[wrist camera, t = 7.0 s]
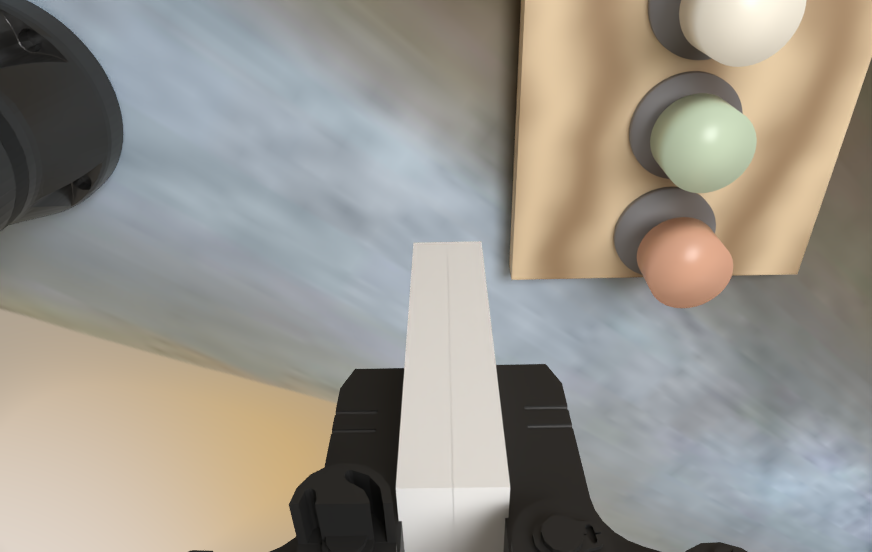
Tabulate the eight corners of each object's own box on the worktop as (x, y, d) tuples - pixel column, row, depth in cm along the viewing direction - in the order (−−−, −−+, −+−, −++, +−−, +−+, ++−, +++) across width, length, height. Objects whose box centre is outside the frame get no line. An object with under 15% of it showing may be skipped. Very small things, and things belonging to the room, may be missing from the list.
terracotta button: (631, 284, 44) (643, 308, 42) (643, 218, 41) (656, 239, 39) (706, 283, 44) (723, 307, 42) (723, 216, 41) (742, 237, 39)
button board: (509, 266, 49) (512, 283, 47) (524, -77, 36) (530, -75, 34) (784, 260, 49) (801, 278, 47) (898, -89, 36) (928, -87, 34)
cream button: (671, 55, 36) (688, 68, 33) (689, -50, 33) (710, -44, 30) (764, 52, 36) (789, 65, 33) (791, -52, 33) (820, -47, 30)
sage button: (644, 175, 41) (657, 194, 38) (657, 94, 38) (673, 109, 36) (725, 173, 41) (744, 192, 38) (745, 92, 38) (766, 106, 35)
